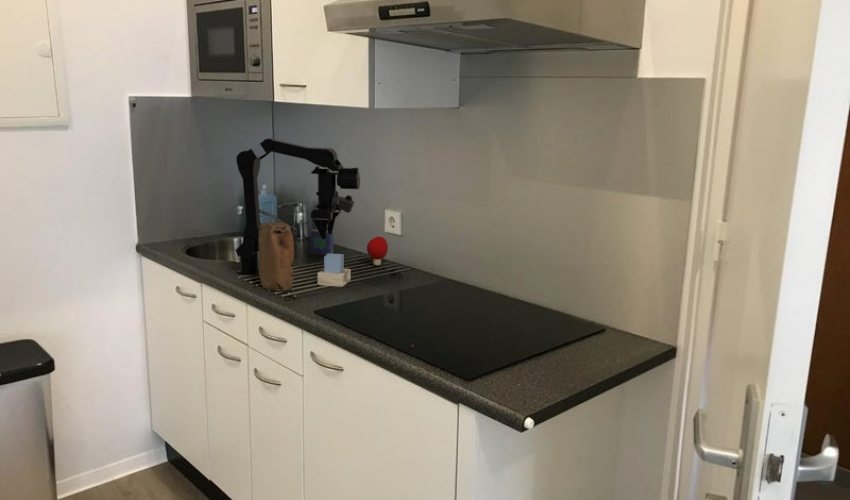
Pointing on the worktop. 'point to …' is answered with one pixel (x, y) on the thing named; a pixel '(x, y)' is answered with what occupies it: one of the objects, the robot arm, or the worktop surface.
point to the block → (276, 256)
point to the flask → (320, 243)
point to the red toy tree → (377, 249)
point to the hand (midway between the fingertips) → (327, 236)
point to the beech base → (334, 278)
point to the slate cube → (333, 263)
